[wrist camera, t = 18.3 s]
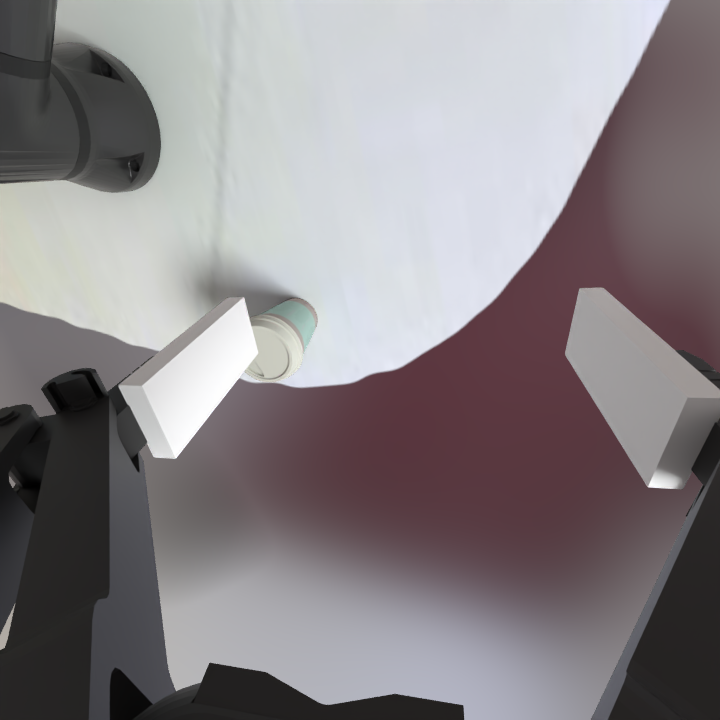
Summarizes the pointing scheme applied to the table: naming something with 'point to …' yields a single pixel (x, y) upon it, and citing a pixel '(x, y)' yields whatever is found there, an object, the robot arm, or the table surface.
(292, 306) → the coffee cup
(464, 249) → the table surface
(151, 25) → the table surface
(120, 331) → the table surface
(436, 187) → the table surface
